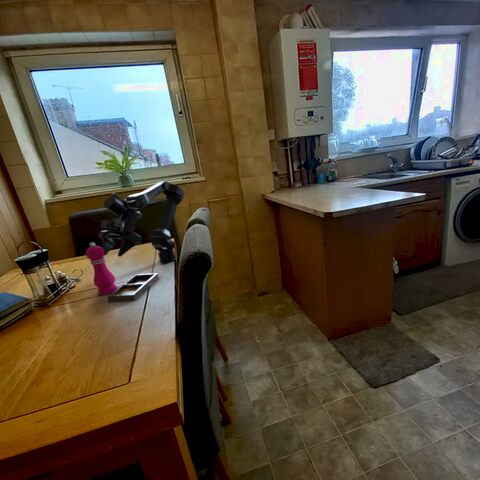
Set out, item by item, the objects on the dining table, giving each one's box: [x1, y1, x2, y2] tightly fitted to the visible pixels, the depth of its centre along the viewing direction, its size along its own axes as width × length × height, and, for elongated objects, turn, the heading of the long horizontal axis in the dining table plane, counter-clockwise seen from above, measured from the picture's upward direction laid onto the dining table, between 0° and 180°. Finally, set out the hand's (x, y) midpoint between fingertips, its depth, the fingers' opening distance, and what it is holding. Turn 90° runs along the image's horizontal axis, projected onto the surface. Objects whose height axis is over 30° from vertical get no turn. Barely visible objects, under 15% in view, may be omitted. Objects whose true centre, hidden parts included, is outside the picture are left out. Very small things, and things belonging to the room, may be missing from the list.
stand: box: [106, 272, 160, 303], centre depth 108 cm, size 10×19×2 cm, turn 175°
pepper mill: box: [85, 242, 118, 295], centre depth 106 cm, size 7×7×20 cm
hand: (111, 255), depth 109 cm, fingers open, 9 cm apart
